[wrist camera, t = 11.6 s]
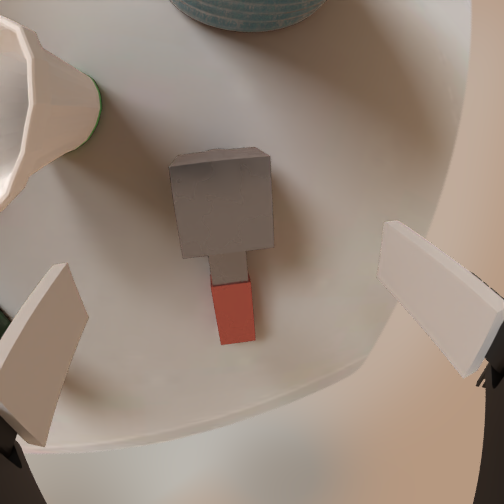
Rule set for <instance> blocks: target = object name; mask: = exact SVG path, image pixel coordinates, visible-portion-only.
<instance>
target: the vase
mask: <svg viewBox="0 0 504 504" xmlns="http://www.w3.org/2000/svg"><path fill="white" fill-rule="evenodd" d="M170 1H171V2H172V4H173V5H174V6H176V7H177V8H178V9H179V10H180V11H182V12H183V13H184V14H186V15H187V16H189V17H191V18H192V19H195V20H197V21H199V22H201V23H204V24H206V25H209V26H212V27H216V28H220V29H224V30H230V31H237V32H265V31H272V30H277V29H282V28H285V27H289V26H292V25H294V24H296V23H299V22H301V21H302V20H304V19H306V18H308V17H309V16H311V15H312V14H313V13H314V12H316V11H317V10H318V9H319V8H320V7H321V6H322V5H323V3H324V2H326V1H327V0H170Z"/></svg>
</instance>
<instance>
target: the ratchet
mask: <svg viewBox="0 0 504 504" xmlns="http://www.w3.org/2000/svg"><path fill="white" fill-rule="evenodd" d="M216 150H226V149H212V150H208V151H216ZM206 152H207V151H206ZM208 258H209V264H210V271H211V275H210V278H211V291H212V296H213V302H214V308H215V314H216V319H217V325H218V331H219V336H220V341H221V345H225V344H232V343H240V342H247V341H254V340H256V339H255V327H254V315H253V303H252V291H251V281H250V278H249V274H248V270H247V258H246V251H241V252H233V253H225V254H216V255H208Z"/></svg>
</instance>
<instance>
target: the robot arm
mask: <svg viewBox="0 0 504 504" xmlns="http://www.w3.org/2000/svg"><path fill="white" fill-rule="evenodd" d="M377 279H378V280H379V281H380V282H381V283H382V284H383V285H384V286H385V287H386V288H387V289H388V290H389V291H390V293H391V294H392V295H393V296H394V297H395V298H396V299H397V300H398V301H399V302H400V304H401V305H402V306H403V307H404V308H405V309H406V310H407V311H408V313H409V314H410V315H411V316H412V317H413V318H414V319H415V321H416V322H417V323H418V324H419V325H420V326H421V328H422V329H423V330H424V331H425V332H426V333H427V334H428V336H429V337H430V338H431V339H432V341H433V342H434V343H435V344H436V345H437V347H438V348H439V349H440V350H441V351H442V353H443V354H444V355H445V356H446V357H447V359H448V360H449V361H450V363H451V364H452V365H453V366H454V368H455V369H456V370H457V371H458V373H459V374H460V375H461V377H462V378H465V377H467V376H469V375H470V374H472V373H474V372H475V371H477V370H478V368H479V367H480V365H481V363H482V361H483V360H484V358H486V360H487V361H488V362H489V363H488V365H487V366H486V368H485V370H484V372H483V373H482V375H481V376H480V378H479V380H478V381H477V384H476V386H479V385H480V384H481V382H482V381H483V379H485V382H484V384H483V386H482V387H484V388H486V405H485V406H486V407H485V427H484V440H483V450H482V458H481V465H480V472H479V477H478V483H477V488H476V493H475V497H474V502H473V504H504V298H503V297H501V296H500V295H499V294H498V293H497V292H495V291H494V290H493V289H492V288H489V286H488V285H487V284H486V283H485V282H482V280H481V279H480V278H478V277H477V276H476V275H475V274H474V273H472V272H470V271H468V270H467V269H466V268H465V267H463V266H462V265H461V264H459V263H458V262H457V261H455V260H454V259H453V258H451V257H450V256H449V255H447V254H446V253H445V252H443V251H442V250H441V249H439V248H438V247H436V246H435V245H434V244H432V243H431V242H429V241H428V240H427V239H425V238H424V237H422V236H421V235H419V234H418V233H416V232H415V231H414V230H412V229H411V228H409V227H408V226H406V225H405V224H403V223H402V222H400V221H399V220H395V221H385V222H384V227H383V235H382V243H381V251H380V258H379V264H378V271H377ZM88 318H89V316H88V314H87V312H86V309H85V307H84V305H83V302H82V300H81V297H80V295H79V292H78V290H77V287H76V285H75V282H74V280H73V277H72V274H71V271H70V269H69V266H68V263H61V264H55V265H52V267H51V268H50V269H49V270H48V272H47V273H46V274H45V276H44V277H43V278H42V280H41V281H40V282H39V284H38V285H37V286H36V288H35V289H34V290H33V292H32V293H31V294H30V296H29V297H28V299H27V300H26V301H25V303H24V304H23V306H22V307H21V309H20V310H19V312H18V313H17V314H16V316H15V317H14V319H13V321H12V322H11V324H10V325H9V327H8V328H7V330H6V331H5V333H4V335H3V336H2V337H1V338H0V504H47V503H46V502H45V500H44V498H43V496H42V494H41V492H40V490H39V488H38V486H37V484H36V482H35V479H34V477H33V475H32V473H31V471H30V468H29V466H28V463H27V461H26V459H25V456H24V454H23V451H22V448H21V446H20V445H19V443H18V442H17V441H16V440H15V439H16V435H17V434H18V435H20V436H21V437H22V438H23V439H24V440H25V441H26V442H27V443H29V444H33V445H37V446H42V447H45V445H46V441H47V437H48V433H49V429H50V426H51V422H52V418H53V415H54V412H55V408H56V405H57V402H58V398H59V395H60V392H61V389H62V386H63V383H64V380H65V377H66V374H67V372H68V369H69V366H70V363H71V361H72V358H73V355H74V353H75V350H76V347H77V345H78V342H79V340H80V337H81V335H82V332H83V330H84V328H85V325H86V323H87V321H88Z"/></svg>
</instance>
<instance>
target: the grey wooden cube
mask: <svg viewBox="0 0 504 504" xmlns="http://www.w3.org/2000/svg"><path fill="white" fill-rule="evenodd" d="M169 173H170V181H171V188H172V195H173V202H174V208H175V215H176V221H177V227H178V233H179V239H180V244H181V250H182V256H183V258H192V257H200V256H208V255H216V254H225V253H233V252H241V251H249V250H258V249H266V248H274V230H273V205H272V182H271V161H270V156H269V155H268V154H266V153H264V152H263V151H261V150H259V149H258V148H256V147H249V148H237V149H226V150H216V151H207V152H199V153H191V154H183V155H178V156H177V157H176V158H175V160H174V161H173V162H172V163H171V165H170V166H169Z"/></svg>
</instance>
